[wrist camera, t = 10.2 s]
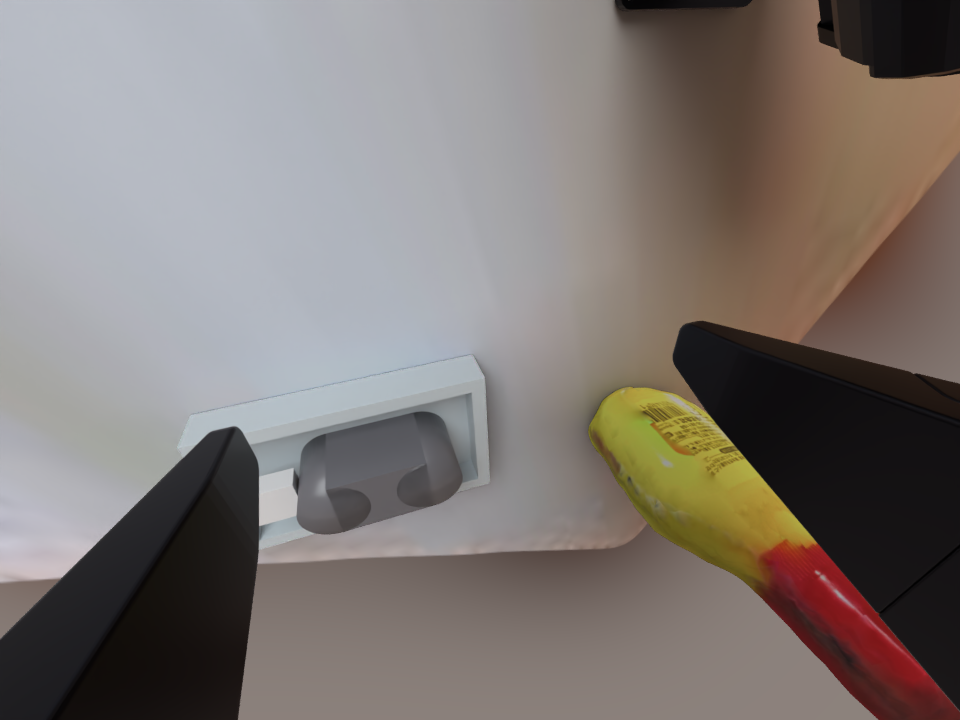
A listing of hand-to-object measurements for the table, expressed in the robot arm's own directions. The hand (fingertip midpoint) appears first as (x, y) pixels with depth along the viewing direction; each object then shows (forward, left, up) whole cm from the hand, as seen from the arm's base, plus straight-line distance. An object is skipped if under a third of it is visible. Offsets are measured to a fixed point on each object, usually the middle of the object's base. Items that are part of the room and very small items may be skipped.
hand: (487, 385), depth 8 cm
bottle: (-16, +17, -13) cm, 27 cm away
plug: (+5, +13, -12) cm, 18 cm away
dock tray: (+4, +13, -13) cm, 19 cm away
